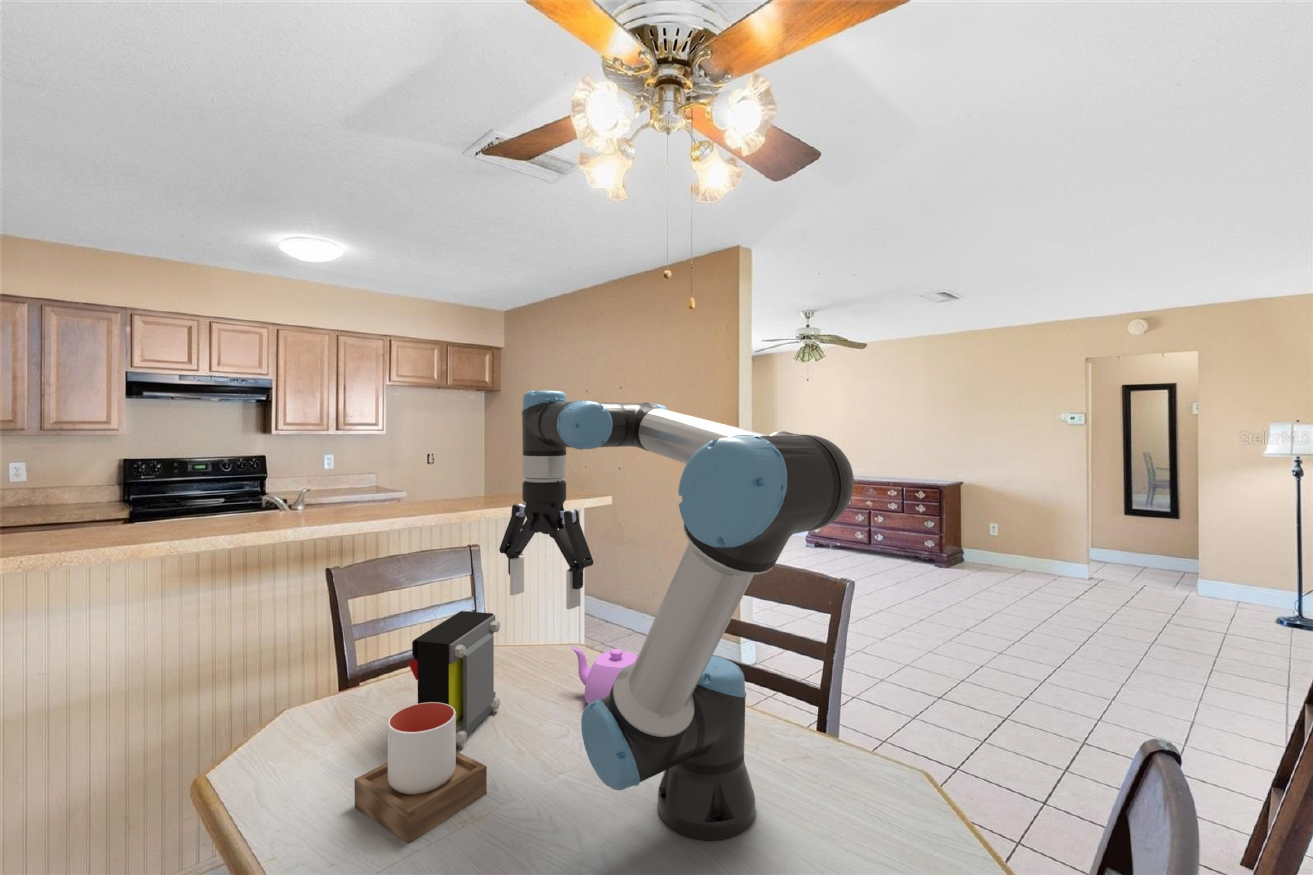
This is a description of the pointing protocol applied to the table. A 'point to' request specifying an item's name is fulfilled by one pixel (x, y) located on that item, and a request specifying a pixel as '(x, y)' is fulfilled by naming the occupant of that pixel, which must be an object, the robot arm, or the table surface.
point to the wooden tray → (419, 798)
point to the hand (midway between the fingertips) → (544, 600)
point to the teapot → (602, 671)
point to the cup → (421, 747)
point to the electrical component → (458, 668)
